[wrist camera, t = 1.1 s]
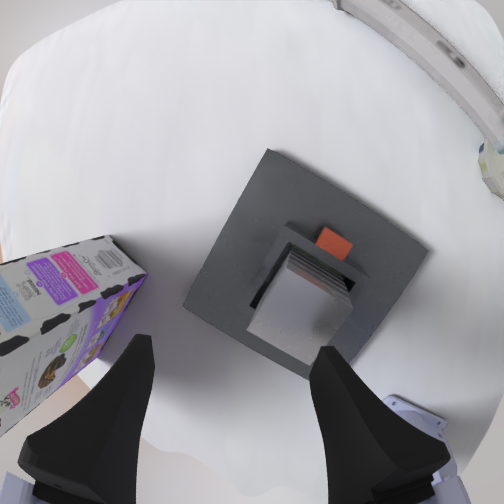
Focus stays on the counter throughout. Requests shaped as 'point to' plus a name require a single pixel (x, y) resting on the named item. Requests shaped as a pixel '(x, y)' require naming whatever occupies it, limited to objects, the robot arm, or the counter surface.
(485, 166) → the grey elongated piece
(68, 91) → the counter surface
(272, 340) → the column
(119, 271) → the candy box
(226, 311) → the stand
